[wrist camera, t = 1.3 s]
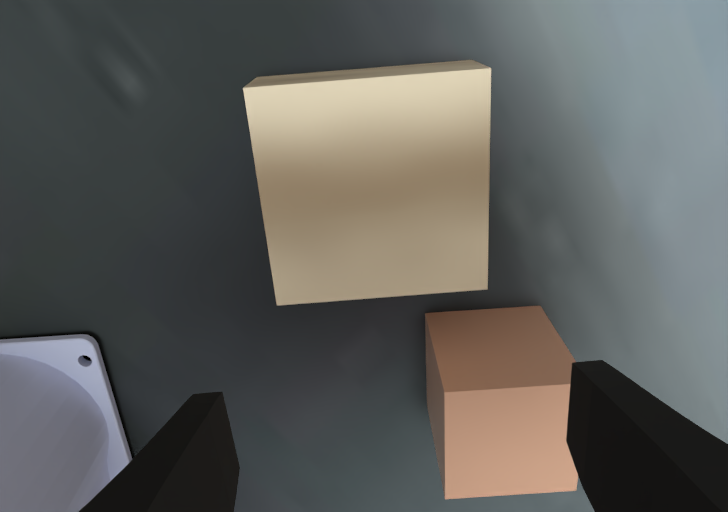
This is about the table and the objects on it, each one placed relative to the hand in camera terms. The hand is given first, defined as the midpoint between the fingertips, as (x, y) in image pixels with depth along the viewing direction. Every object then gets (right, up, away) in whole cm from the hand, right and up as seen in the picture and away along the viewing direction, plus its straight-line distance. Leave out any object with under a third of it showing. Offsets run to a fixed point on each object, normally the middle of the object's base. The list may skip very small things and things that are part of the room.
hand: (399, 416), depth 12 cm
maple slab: (0, +6, +8) cm, 10 cm away
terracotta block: (+4, -1, +11) cm, 12 cm away
